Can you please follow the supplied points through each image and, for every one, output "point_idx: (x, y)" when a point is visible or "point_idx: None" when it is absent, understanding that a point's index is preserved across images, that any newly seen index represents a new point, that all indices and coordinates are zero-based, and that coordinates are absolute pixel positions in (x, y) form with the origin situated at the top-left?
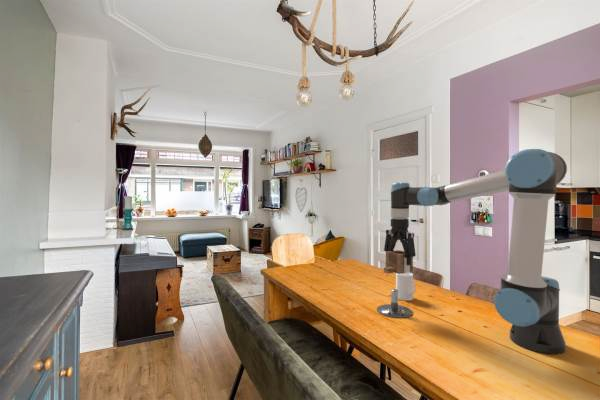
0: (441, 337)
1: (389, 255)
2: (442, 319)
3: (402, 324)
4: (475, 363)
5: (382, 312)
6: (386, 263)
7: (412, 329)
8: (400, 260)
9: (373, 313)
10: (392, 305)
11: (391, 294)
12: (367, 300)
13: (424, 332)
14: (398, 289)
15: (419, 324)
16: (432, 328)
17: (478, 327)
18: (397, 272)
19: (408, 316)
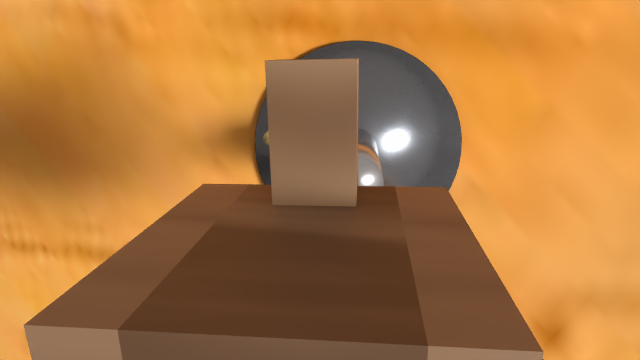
0: (12, 85)
1: (386, 298)
2: None
3: (197, 38)
4: None
5: (370, 58)
6: (444, 219)
7: (128, 34)
8: (107, 270)
9: (400, 6)
10: None
11: (362, 149)
12: (591, 141)
13: (80, 60)
14: None
15: (160, 118)
16: (100, 134)
17: (37, 310)
18: (235, 187)
19: (255, 149)
